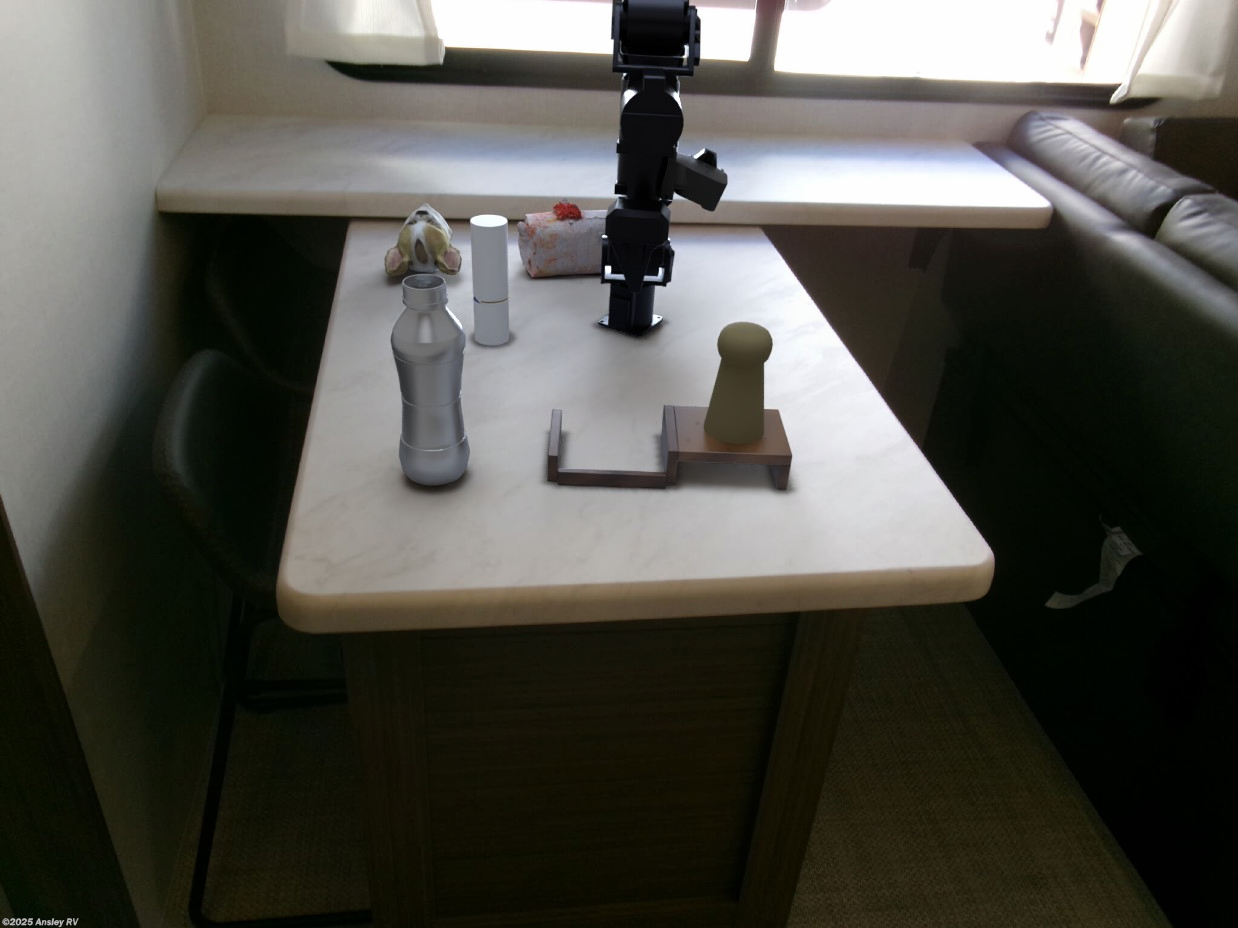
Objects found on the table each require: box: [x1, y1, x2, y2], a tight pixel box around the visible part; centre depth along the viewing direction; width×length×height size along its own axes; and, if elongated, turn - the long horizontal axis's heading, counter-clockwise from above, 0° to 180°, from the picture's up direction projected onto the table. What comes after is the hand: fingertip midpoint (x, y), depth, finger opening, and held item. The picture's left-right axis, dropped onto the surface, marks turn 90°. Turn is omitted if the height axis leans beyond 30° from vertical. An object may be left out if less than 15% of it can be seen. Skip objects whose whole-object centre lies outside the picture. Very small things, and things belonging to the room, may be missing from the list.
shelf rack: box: [546, 404, 793, 490], centre depth 95 cm, size 24×10×4 cm, turn 90°
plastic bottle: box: [390, 273, 471, 487], centre depth 87 cm, size 6×7×20 cm
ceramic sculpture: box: [383, 202, 463, 276], centre depth 135 cm, size 11×9×15 cm
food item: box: [516, 197, 611, 278], centre depth 136 cm, size 14×8×10 cm, turn 104°
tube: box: [469, 214, 510, 346], centre depth 115 cm, size 4×4×15 cm
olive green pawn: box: [704, 321, 774, 444], centre depth 92 cm, size 6×6×11 cm
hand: (638, 276), depth 104 cm, fingers open, 9 cm apart
